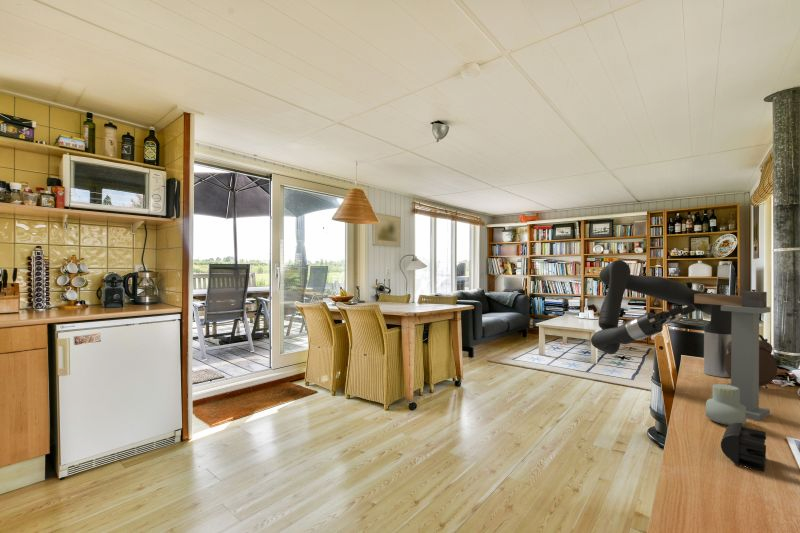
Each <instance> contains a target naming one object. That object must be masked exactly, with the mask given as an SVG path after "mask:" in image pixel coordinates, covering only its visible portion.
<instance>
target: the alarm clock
mask: <svg viewBox="0 0 800 533" xmlns="http://www.w3.org/2000/svg"><path fill="white" fill-rule="evenodd" d="M727 349H728V354H727V355H726V358H725V369H726V371H727V373H728V374H729V375H730V376H731V341H730V342H729V343H728V344H727ZM773 349H774V348H773V345H772V344H771V343H770V342H768V338H764V337H763V335H762V334H760V333H759V388H761V387H765V389H768V388H769V387H768V386H767V385H769V384H771V383H772V382H773V381H774V379H775V377H776V376H777V374H778V363H777V360H776V358H775V357H774V355H773V354H772V353H773Z"/></svg>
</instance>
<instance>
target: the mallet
mask: <svg viewBox="0 0 800 533" xmlns="http://www.w3.org/2000/svg"><path fill="white" fill-rule="evenodd" d="M767 293H768V292H767V291H755V290H754V291H753V290H749V291H748V290H747V291H745V290H744V291H741V295H733V294H730V295H729V294H725V295H714V294H694V303H700V304H714V305H729V306H742V307H752V308H764V307H768V304H767V301H768V298H767V295H768V294H767Z"/></svg>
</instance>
